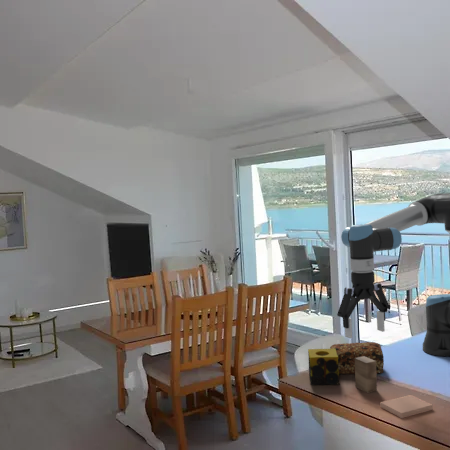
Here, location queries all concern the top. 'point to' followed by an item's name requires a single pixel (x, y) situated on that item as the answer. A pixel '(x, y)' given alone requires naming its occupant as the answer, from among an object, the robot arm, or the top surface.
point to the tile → (406, 406)
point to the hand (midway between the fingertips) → (365, 334)
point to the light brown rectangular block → (365, 374)
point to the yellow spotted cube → (323, 367)
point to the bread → (358, 355)
